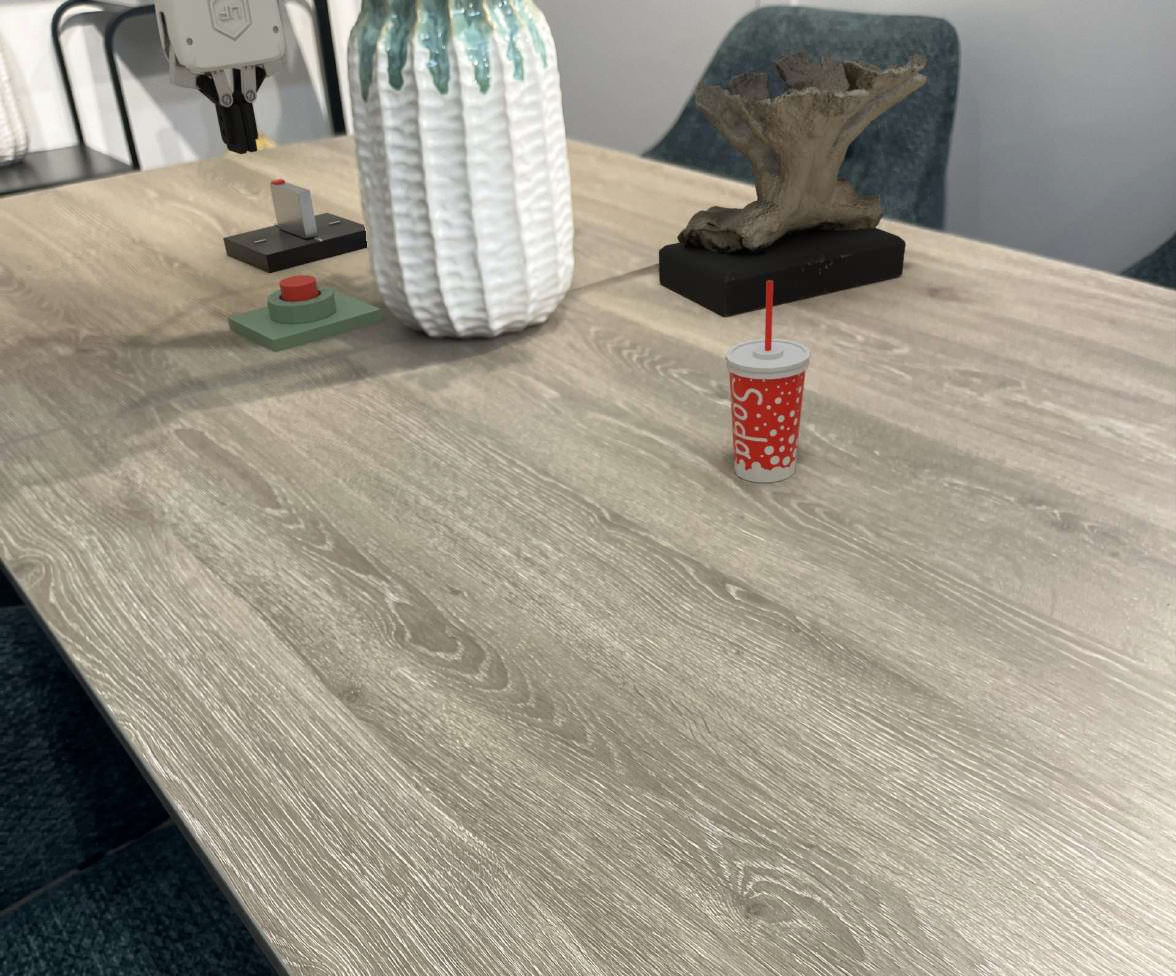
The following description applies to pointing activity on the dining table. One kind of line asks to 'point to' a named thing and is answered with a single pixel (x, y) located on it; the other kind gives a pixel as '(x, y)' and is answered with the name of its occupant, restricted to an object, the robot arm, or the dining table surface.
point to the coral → (791, 188)
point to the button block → (303, 319)
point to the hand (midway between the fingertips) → (242, 150)
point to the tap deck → (296, 244)
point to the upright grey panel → (293, 209)
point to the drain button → (298, 288)
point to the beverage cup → (766, 402)
